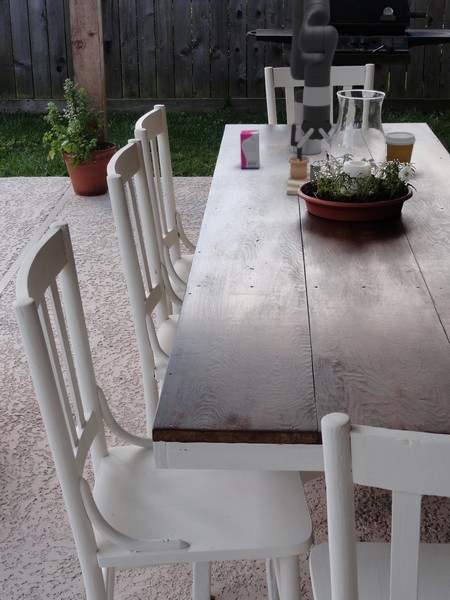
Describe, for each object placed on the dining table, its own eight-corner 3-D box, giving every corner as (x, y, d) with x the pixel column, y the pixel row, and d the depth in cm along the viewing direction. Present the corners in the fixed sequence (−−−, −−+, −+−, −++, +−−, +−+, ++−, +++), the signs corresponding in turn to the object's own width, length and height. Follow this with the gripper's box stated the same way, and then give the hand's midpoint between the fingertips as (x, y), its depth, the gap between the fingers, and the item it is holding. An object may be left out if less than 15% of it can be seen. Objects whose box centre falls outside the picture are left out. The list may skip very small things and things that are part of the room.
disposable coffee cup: (414, 170, 247) (417, 132, 242) (412, 178, 239) (415, 139, 234) (383, 169, 250) (385, 131, 245) (380, 177, 241) (382, 138, 236)
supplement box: (259, 164, 259) (259, 129, 254) (258, 169, 254) (258, 133, 249) (242, 164, 260) (241, 129, 255) (240, 169, 254) (240, 133, 250)
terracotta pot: (289, 174, 243) (289, 155, 241) (309, 174, 242) (309, 155, 240) (288, 179, 237) (288, 160, 235) (308, 179, 237) (308, 160, 234)
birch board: (289, 172, 249) (290, 150, 246) (322, 172, 248) (322, 150, 245) (286, 194, 227) (286, 170, 224) (322, 194, 226) (322, 170, 223)
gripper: (342, 99, 221) (340, 157, 228) (291, 100, 223) (291, 157, 229) (343, 104, 214) (341, 163, 221) (290, 105, 216) (290, 163, 222)
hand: (315, 160), depth 225 cm, fingers open, 8 cm apart
